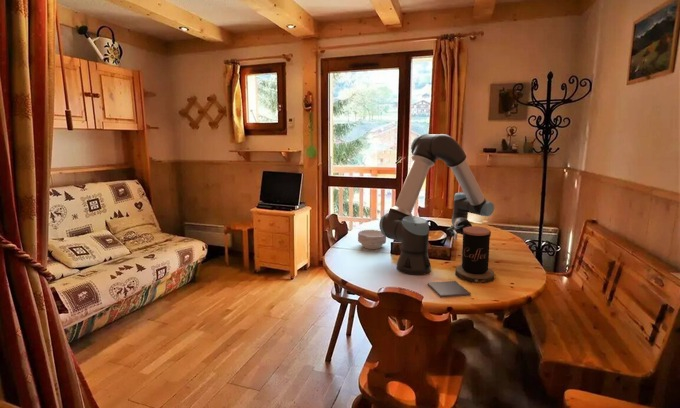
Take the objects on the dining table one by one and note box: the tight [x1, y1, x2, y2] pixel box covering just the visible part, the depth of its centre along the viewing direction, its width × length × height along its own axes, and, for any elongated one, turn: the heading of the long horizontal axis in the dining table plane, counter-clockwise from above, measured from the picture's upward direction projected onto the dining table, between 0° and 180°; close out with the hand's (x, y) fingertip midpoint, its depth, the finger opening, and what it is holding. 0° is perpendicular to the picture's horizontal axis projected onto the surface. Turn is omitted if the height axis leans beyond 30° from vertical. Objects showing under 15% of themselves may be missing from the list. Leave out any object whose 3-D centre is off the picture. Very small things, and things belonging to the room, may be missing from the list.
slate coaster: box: [427, 280, 472, 299], centre depth 140 cm, size 12×12×1 cm
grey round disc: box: [454, 264, 496, 284], centre depth 155 cm, size 16×16×3 cm
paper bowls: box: [357, 229, 387, 250], centre depth 195 cm, size 15×15×8 cm
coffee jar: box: [461, 225, 491, 274], centre depth 153 cm, size 11×11×18 cm
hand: (471, 237), depth 163 cm, fingers open, 13 cm apart
